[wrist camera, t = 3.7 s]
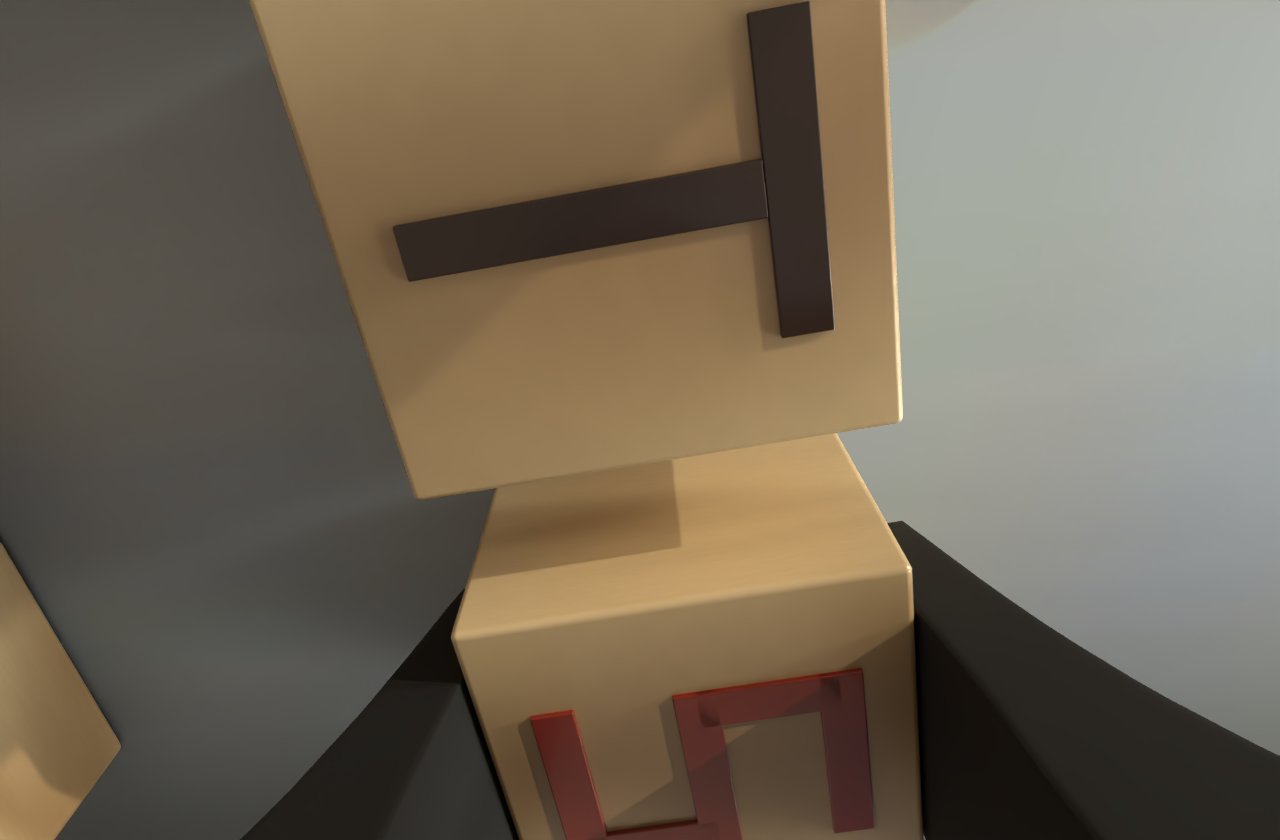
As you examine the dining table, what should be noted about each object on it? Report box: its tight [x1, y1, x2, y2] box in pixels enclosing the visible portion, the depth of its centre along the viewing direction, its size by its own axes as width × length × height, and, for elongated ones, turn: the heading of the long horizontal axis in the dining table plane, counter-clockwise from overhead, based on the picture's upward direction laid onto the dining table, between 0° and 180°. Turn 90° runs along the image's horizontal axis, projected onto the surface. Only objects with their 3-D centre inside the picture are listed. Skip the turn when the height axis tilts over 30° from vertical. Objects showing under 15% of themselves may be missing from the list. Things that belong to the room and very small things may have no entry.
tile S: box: [451, 433, 923, 840], centre depth 9 cm, size 4×4×4 cm
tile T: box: [249, 0, 903, 500], centre depth 7 cm, size 4×4×4 cm
